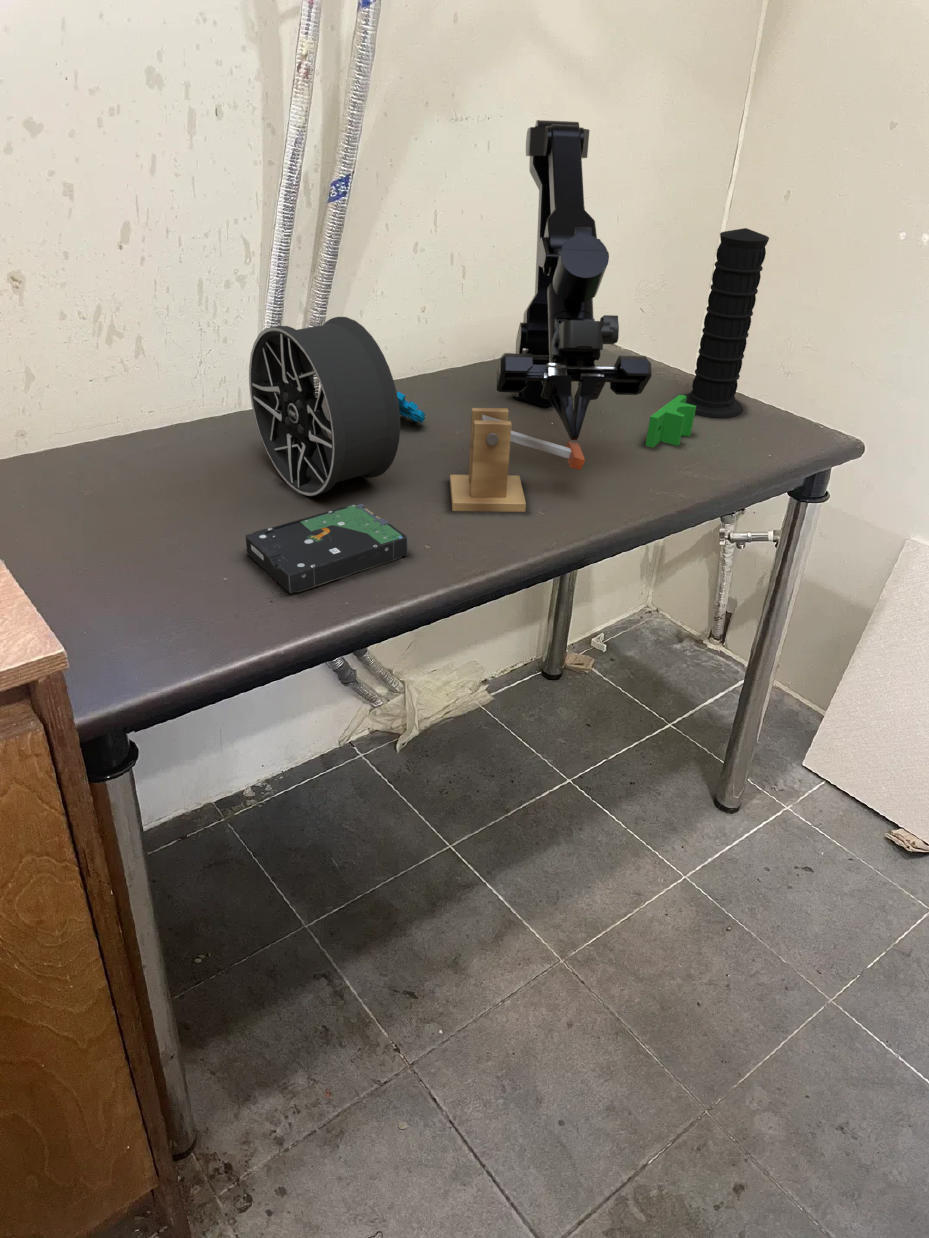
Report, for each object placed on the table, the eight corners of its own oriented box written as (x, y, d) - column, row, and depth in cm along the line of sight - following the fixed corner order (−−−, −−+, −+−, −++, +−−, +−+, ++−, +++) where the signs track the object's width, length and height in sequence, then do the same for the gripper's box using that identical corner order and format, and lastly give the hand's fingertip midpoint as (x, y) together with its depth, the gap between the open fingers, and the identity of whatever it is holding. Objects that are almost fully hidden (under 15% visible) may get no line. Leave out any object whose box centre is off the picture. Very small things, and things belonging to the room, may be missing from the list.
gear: (440, 420, 131) (395, 379, 124) (418, 455, 131) (372, 416, 124) (398, 406, 139) (353, 367, 132) (377, 439, 138) (331, 401, 132)
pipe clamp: (669, 453, 129) (675, 423, 126) (645, 447, 131) (649, 416, 128) (698, 428, 137) (703, 399, 134) (674, 422, 138) (679, 393, 136)
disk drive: (291, 599, 94) (409, 556, 102) (289, 576, 93) (409, 534, 100) (245, 556, 101) (359, 520, 108) (243, 534, 99) (358, 499, 107)
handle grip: (678, 413, 142) (744, 421, 140) (711, 232, 127) (785, 238, 125) (679, 391, 150) (741, 398, 148) (709, 219, 135) (779, 224, 133)
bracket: (518, 483, 119) (525, 404, 113) (525, 512, 112) (532, 429, 106) (449, 482, 118) (452, 402, 112) (452, 511, 111) (455, 428, 105)
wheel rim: (256, 462, 121) (242, 308, 110) (316, 446, 126) (308, 298, 114) (337, 521, 108) (330, 354, 97) (400, 501, 113) (401, 340, 102)
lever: (573, 456, 115) (580, 440, 114) (579, 474, 111) (586, 456, 110) (475, 427, 112) (481, 409, 111) (477, 443, 108) (484, 425, 107)
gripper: (504, 286, 107) (506, 411, 104) (660, 290, 108) (667, 414, 105) (495, 332, 118) (497, 447, 115) (637, 335, 119) (642, 449, 116)
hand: (574, 439), depth 113 cm, fingers closed
